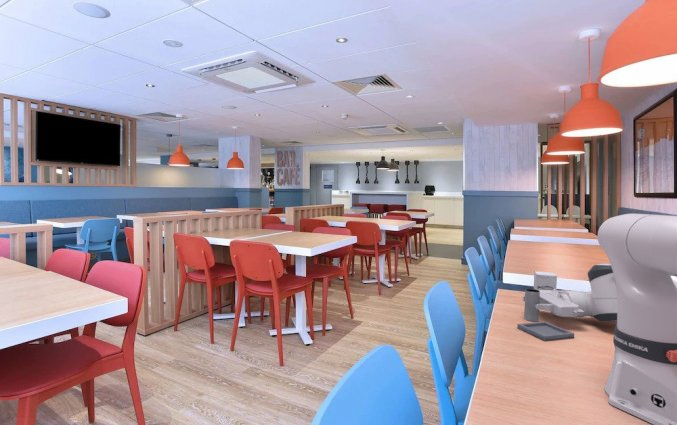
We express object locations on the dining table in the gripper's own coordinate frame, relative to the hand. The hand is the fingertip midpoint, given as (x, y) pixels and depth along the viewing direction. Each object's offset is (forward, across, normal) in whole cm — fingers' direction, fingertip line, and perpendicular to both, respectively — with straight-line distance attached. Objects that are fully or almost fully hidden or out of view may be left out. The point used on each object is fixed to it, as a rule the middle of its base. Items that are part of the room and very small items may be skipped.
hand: (529, 302), depth 129 cm
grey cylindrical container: (-1, 0, -6) cm, 6 cm away
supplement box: (-15, +20, -6) cm, 26 cm away
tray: (+1, -13, -6) cm, 15 cm away
